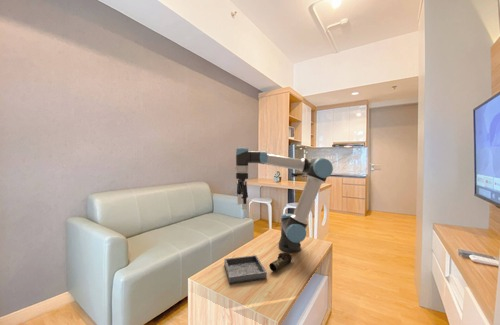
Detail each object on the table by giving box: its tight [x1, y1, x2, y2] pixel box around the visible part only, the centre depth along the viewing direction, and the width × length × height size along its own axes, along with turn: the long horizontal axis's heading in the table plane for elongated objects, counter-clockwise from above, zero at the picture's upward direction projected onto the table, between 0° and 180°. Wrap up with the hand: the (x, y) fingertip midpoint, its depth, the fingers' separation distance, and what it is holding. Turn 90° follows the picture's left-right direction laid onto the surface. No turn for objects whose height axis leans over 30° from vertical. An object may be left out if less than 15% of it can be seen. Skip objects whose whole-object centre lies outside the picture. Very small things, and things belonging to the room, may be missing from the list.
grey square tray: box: [223, 254, 268, 286], centre depth 108 cm, size 19×19×4 cm
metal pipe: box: [269, 252, 293, 273], centre depth 114 cm, size 18×7×6 cm, turn 137°
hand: (241, 206), depth 124 cm, fingers open, 13 cm apart
